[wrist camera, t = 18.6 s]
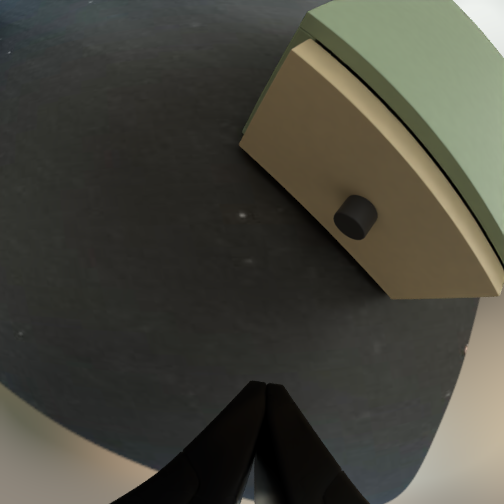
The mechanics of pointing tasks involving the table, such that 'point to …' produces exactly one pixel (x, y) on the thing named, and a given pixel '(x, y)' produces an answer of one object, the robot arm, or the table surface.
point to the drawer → (370, 181)
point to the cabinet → (427, 86)
